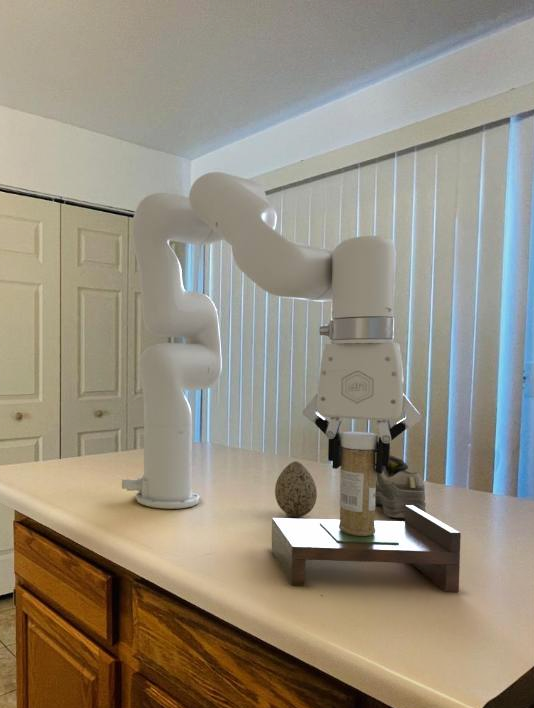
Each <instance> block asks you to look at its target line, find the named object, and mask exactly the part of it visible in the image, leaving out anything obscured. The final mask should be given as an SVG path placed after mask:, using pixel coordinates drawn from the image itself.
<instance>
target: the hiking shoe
mask: <svg viewBox="0 0 534 708" xmlns="http://www.w3.org/2000/svg"><path fill="white" fill-rule="evenodd" d="M408 469H409V465H408V464H407V463H406V462H405V461H404V459H402V458H400V457H397V456H394V455H391V454H390V462H389V467H386V466H384V470H383V472H382V474H381V473H377V472H376V465H375V477H376V491H375V506H381V505H382V511H383V514H384V515H386V516H387V517H389V518H396V519H405V505H413V506H415V507H417V508H418V509H420V510H422V511H424V512H425V513H427V510H426V505H427V503H426V502H425V501H426V493H425V492H426V491H425V490H426V489H425V484H424V480H423V478H422V476H421V475H420V473H419V472H411V471H409V470H408Z"/></svg>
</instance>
